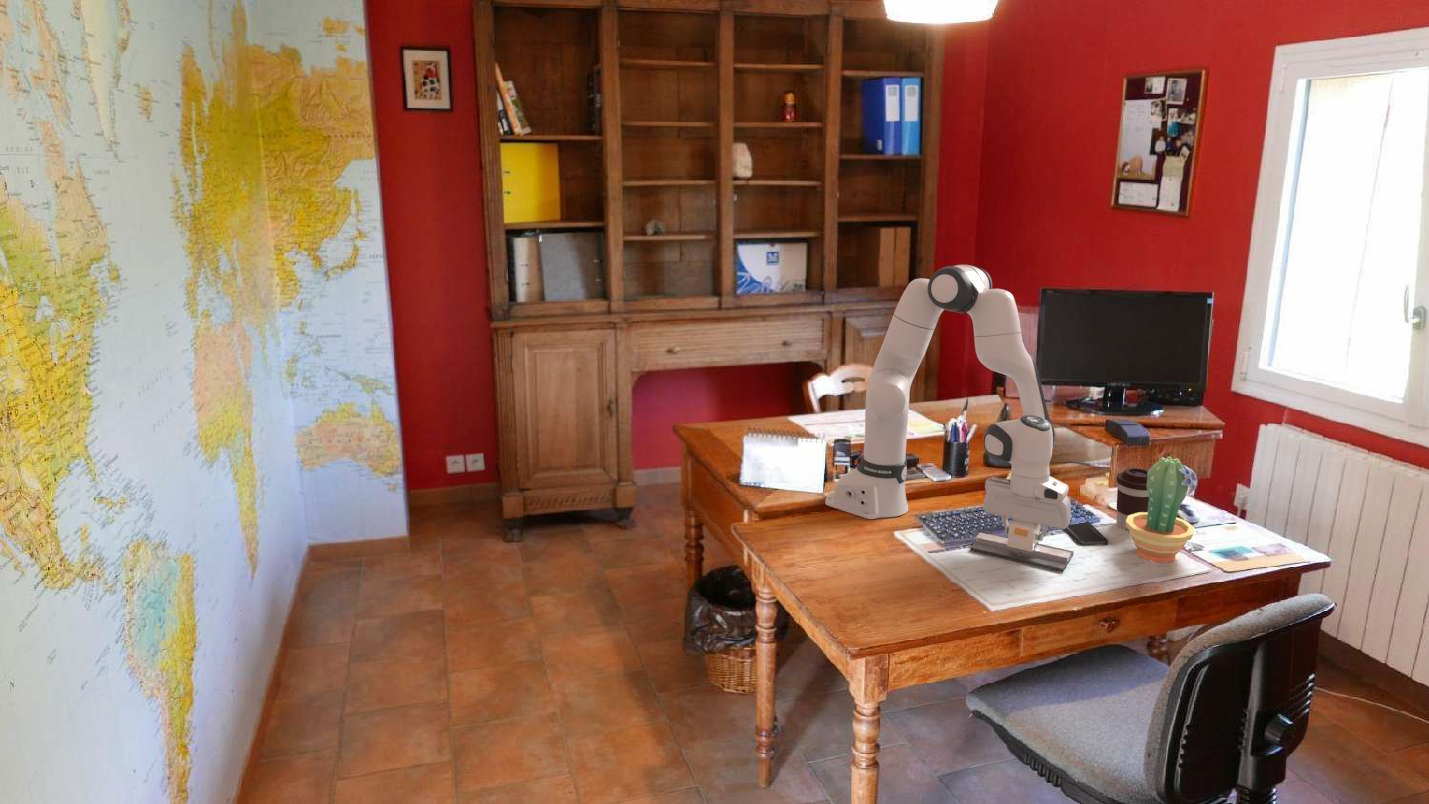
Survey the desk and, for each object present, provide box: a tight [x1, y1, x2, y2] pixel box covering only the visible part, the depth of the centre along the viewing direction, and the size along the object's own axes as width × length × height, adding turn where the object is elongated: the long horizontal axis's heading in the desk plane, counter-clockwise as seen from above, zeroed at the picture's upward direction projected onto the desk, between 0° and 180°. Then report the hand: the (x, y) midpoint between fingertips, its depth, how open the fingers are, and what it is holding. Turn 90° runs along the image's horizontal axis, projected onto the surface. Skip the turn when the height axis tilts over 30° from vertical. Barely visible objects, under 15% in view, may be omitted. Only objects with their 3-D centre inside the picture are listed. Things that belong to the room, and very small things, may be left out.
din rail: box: [970, 532, 1075, 574], centre depth 237 cm, size 22×11×2 cm, turn 59°
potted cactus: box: [1126, 455, 1198, 564], centre depth 234 cm, size 15×15×25 cm
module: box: [1007, 518, 1041, 552], centre depth 236 cm, size 6×6×6 cm
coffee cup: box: [1116, 467, 1149, 531], centre depth 251 cm, size 10×10×15 cm
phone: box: [1063, 519, 1109, 546], centre depth 249 cm, size 8×1×15 cm
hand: (1023, 536), depth 237 cm, fingers closed on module, 6 cm apart
